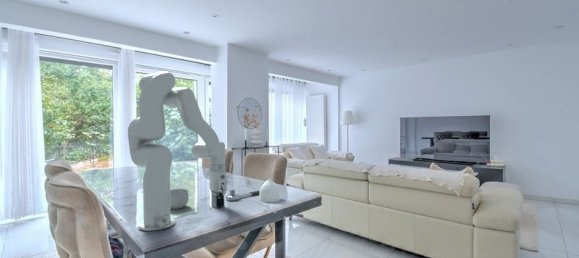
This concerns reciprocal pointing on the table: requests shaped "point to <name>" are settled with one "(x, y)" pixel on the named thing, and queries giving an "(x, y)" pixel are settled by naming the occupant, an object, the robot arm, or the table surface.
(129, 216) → the table surface
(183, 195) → the teacup
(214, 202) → the socket
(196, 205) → the table surface
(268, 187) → the teardrop
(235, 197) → the ratchet
